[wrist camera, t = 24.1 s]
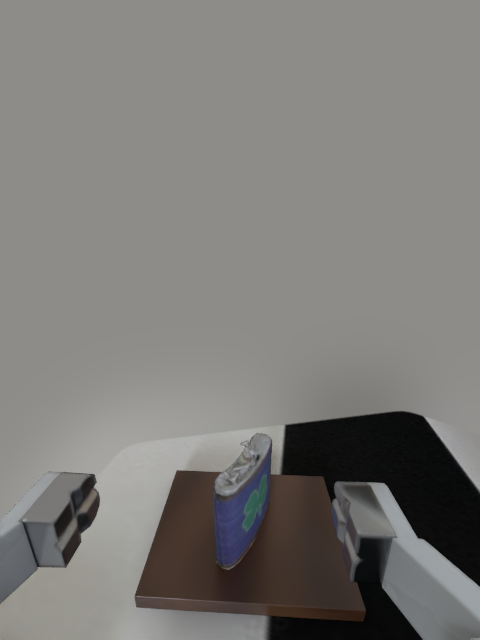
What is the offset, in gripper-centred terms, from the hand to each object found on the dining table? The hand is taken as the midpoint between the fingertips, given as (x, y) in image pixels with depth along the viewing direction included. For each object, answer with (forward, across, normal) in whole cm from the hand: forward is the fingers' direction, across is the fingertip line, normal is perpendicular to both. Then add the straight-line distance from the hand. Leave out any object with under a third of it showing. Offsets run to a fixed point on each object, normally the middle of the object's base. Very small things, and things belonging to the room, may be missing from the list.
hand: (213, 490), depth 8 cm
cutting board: (+14, -1, +23) cm, 27 cm away
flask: (+14, -1, +22) cm, 26 cm away
